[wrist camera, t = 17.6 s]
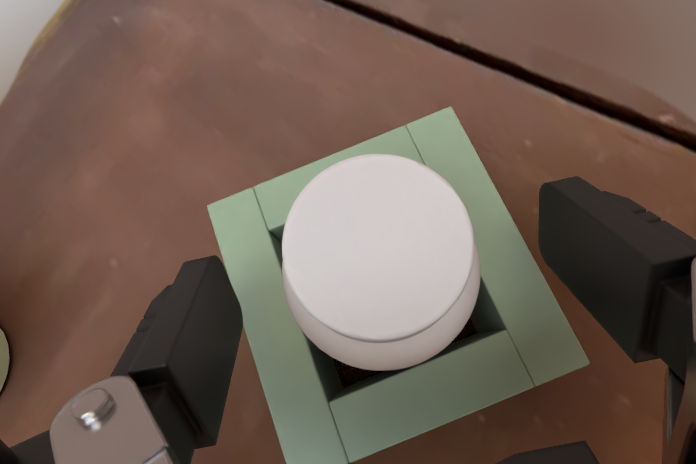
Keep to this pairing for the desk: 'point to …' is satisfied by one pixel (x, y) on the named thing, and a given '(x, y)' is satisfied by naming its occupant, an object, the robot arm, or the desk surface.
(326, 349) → the pill bottle
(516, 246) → the holder
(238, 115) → the desk surface
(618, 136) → the desk surface
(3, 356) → the candle
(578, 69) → the desk surface
